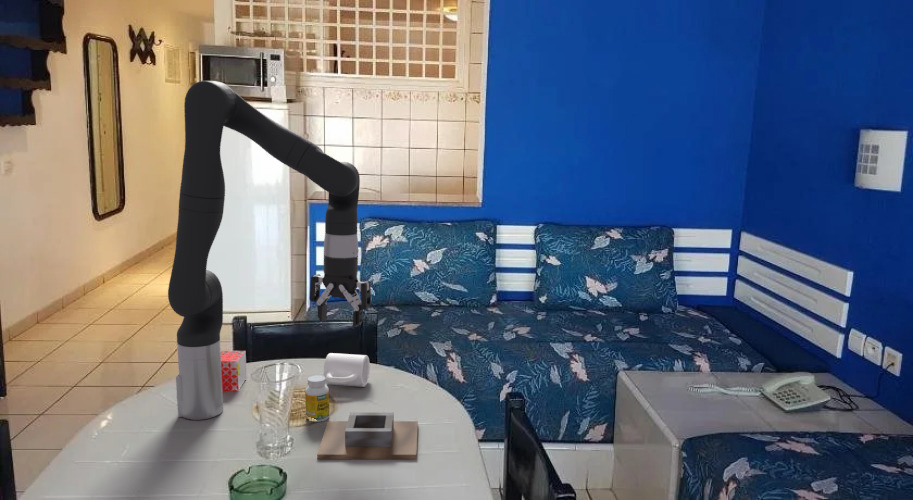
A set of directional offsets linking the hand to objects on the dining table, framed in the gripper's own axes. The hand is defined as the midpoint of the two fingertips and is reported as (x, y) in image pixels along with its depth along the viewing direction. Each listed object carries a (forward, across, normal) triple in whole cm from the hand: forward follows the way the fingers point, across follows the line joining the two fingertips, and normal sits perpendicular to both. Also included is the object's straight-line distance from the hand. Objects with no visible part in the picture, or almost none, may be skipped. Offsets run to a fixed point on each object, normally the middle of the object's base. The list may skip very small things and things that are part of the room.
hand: (339, 323), depth 163 cm
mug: (+22, -7, +16) cm, 28 cm away
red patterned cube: (+23, -35, +6) cm, 42 cm away
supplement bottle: (+22, -4, -3) cm, 23 cm away
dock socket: (+22, +13, -10) cm, 27 cm away
